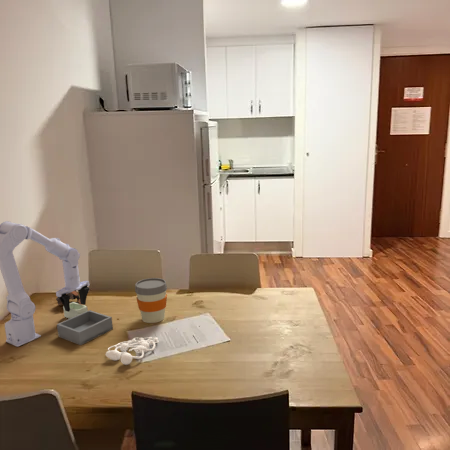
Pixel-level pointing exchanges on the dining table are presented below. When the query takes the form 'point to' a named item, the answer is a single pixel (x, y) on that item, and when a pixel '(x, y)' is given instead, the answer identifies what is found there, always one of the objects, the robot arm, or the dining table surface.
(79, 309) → the sage crate
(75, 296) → the pottery mug
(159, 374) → the dining table surface
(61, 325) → the charcoal crate
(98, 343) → the dining table surface
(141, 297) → the reusable coffee cup
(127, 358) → the white tangled earphones
